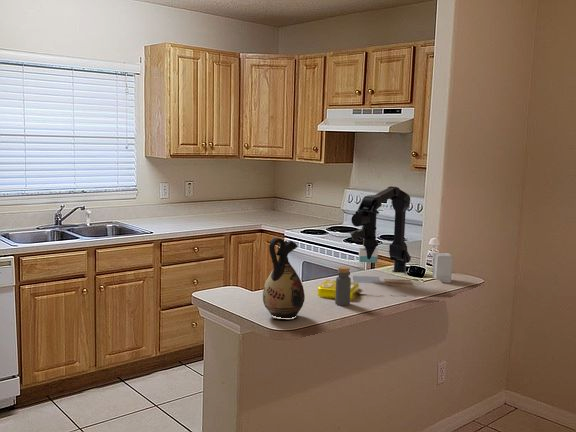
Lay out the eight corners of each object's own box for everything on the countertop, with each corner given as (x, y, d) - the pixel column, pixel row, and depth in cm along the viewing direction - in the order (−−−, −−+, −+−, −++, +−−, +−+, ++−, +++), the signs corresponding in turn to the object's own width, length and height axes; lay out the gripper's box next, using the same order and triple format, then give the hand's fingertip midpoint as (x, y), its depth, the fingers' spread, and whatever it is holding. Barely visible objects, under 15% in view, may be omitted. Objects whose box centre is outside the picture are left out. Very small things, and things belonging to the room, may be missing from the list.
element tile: (351, 302, 241) (352, 290, 241) (316, 297, 246) (316, 286, 245) (359, 292, 255) (359, 282, 255) (325, 288, 260) (326, 278, 259)
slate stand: (352, 278, 277) (352, 275, 277) (378, 279, 277) (378, 276, 276) (354, 285, 265) (354, 282, 265) (381, 286, 265) (381, 283, 265)
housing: (376, 260, 272) (376, 248, 271) (377, 262, 267) (377, 250, 266) (358, 259, 272) (359, 247, 271) (359, 262, 267) (360, 250, 266)
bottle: (345, 307, 233) (347, 269, 231) (332, 304, 236) (334, 267, 234) (352, 303, 238) (353, 267, 236) (339, 300, 241) (340, 265, 239)
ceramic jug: (284, 308, 229) (286, 232, 225) (312, 318, 218) (315, 238, 214) (250, 316, 218) (251, 236, 213) (278, 327, 207) (280, 243, 202)
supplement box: (451, 282, 275) (453, 256, 273) (435, 282, 275) (437, 255, 273) (447, 278, 282) (449, 253, 280) (431, 278, 282) (433, 252, 280)
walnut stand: (383, 282, 273) (383, 279, 272) (409, 283, 272) (410, 279, 272) (387, 289, 261) (387, 285, 261) (414, 290, 260) (414, 286, 260)
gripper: (350, 220, 276) (349, 253, 279) (353, 227, 258) (351, 262, 260) (374, 221, 276) (372, 253, 278) (378, 227, 258) (377, 262, 260)
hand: (368, 257), depth 269 cm, fingers closed on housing, 5 cm apart
